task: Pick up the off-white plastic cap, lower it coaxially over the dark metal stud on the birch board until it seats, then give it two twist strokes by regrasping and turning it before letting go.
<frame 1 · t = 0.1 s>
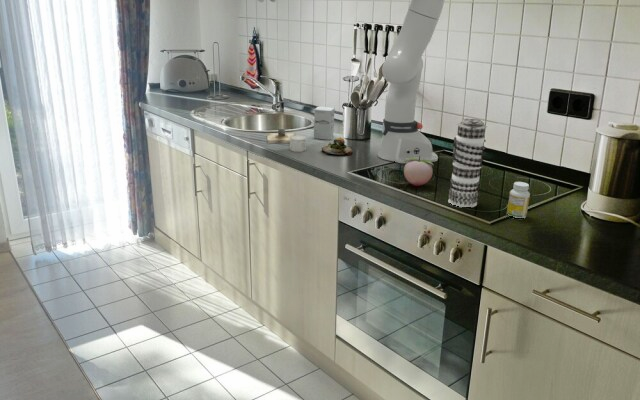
hand: (266, 1, 216), 54 cm above the worktop, tool tilted 30°, fingers open, 8 cm apart
supplement bottle: (516, 216, 159), on the worktop
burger: (337, 153, 218), on the worktop
stud board: (281, 139, 234), on the worktop
decorative candle: (462, 203, 168), on the worktop
supplement box: (323, 138, 240), on the worktop
decorative fruit: (416, 187, 181), on the worktop
cap: (298, 149, 220), on the worktop
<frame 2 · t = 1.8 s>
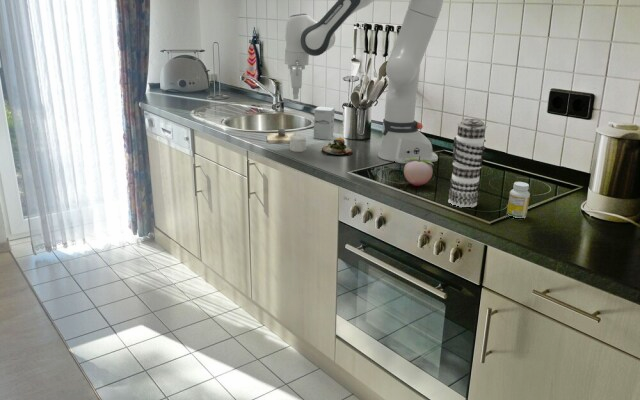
hand: (295, 96, 213), 21 cm above the worktop, tool pointing down, fingers open, 8 cm apart
nothing on the worktop moved.
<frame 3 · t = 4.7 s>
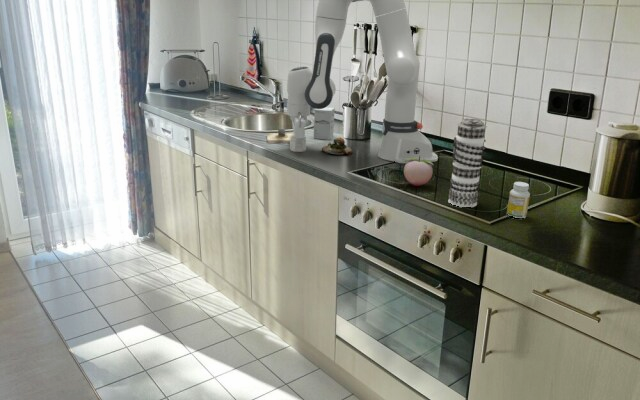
hand: (298, 145, 219), 2 cm above the worktop, tool pointing down, fingers closed on cap, 6 cm apart
cap: (298, 149, 220), on the worktop, touching gripper
everything else where it was.
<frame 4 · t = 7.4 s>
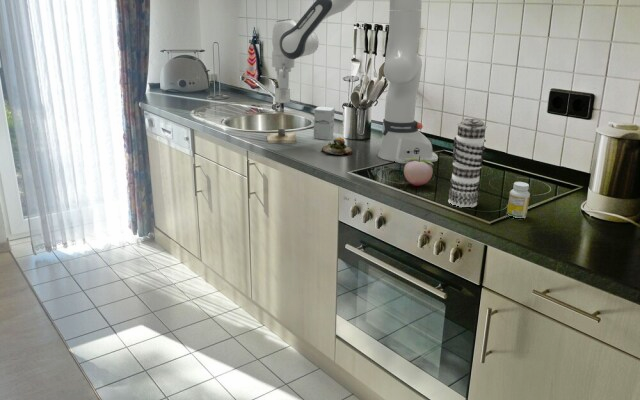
hand: (282, 97, 226), 18 cm above the worktop, tool pointing down, fingers closed on cap, 6 cm apart
cap: (282, 101, 227), point 16 cm above the worktop, touching gripper
everything else where it was.
when the fingers open (4 cm above the worktop, at t = 10.0 s): cap stays where it is, resting on stud board.
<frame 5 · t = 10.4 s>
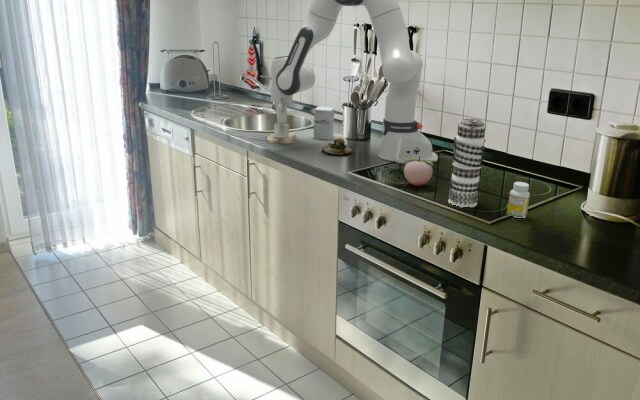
hand: (281, 130, 233), 4 cm above the worktop, tool pointing down, fingers open, 8 cm apart
cap: (281, 136, 234), point 1 cm above the worktop, touching stud board
everything else where it was.
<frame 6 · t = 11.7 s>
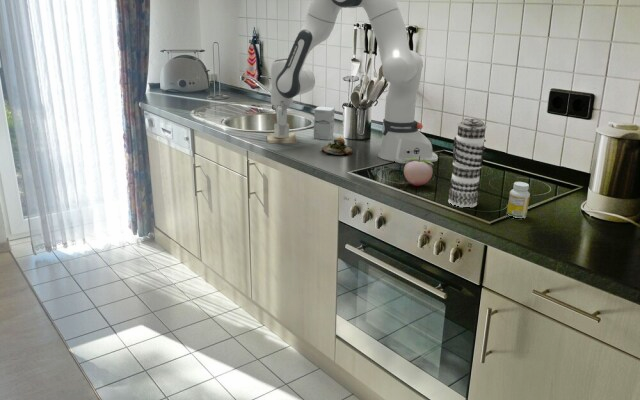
hand: (281, 132, 233), 3 cm above the worktop, tool pointing down, fingers closed on cap, 6 cm apart
cap: (281, 136, 234), point 1 cm above the worktop, touching gripper, stud board
everything else where it was.
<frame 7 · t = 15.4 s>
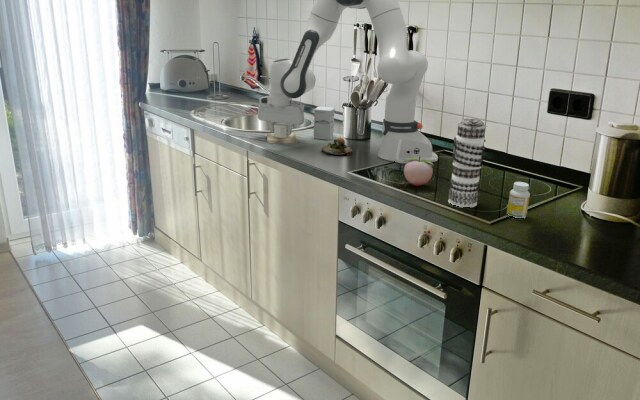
hand: (280, 133, 233), 3 cm above the worktop, tool pointing down, fingers closed on cap, 6 cm apart
cap: (281, 136, 234), point 2 cm above the worktop, touching gripper
everything else where it was.
when the fingers open (3 cm above the worktop, at t = 15.8 s): cap stays where it is, resting on stud board.
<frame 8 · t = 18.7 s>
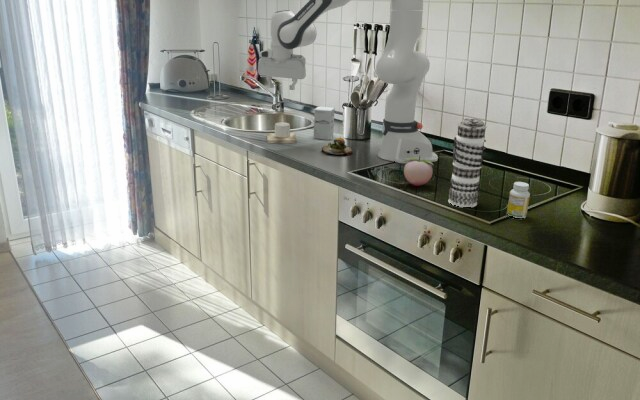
hand: (281, 88, 227), 21 cm above the worktop, tool pointing down, fingers open, 8 cm apart
cap: (282, 135, 234), point 1 cm above the worktop, touching stud board
everything else where it was.
at the end: cap 0.6 cm off-centre on the stud board, point 1.5 cm above the stud board's base; cap tilted 0°; the gripper is holding nothing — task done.
